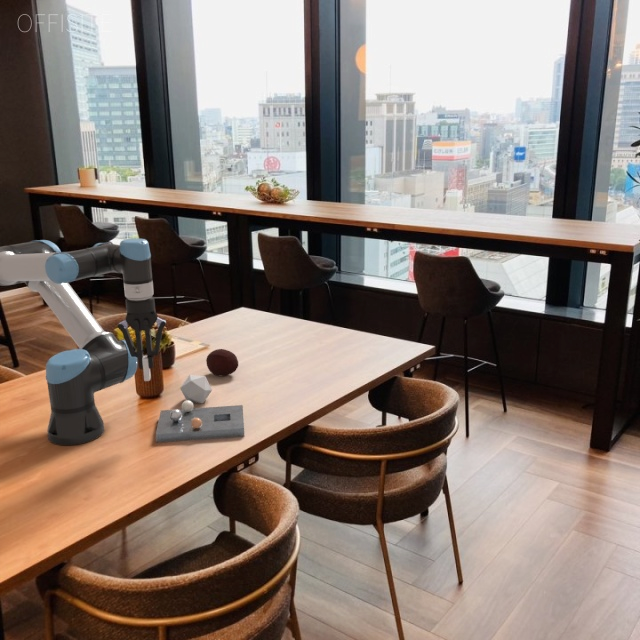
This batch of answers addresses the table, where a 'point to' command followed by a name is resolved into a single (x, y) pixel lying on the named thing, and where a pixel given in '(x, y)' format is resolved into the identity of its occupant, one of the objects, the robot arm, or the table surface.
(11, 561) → the table surface
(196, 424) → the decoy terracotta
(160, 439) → the grey board with recess
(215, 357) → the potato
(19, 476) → the table surface
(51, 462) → the table surface
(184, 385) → the die
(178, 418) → the steel ball
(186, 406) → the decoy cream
